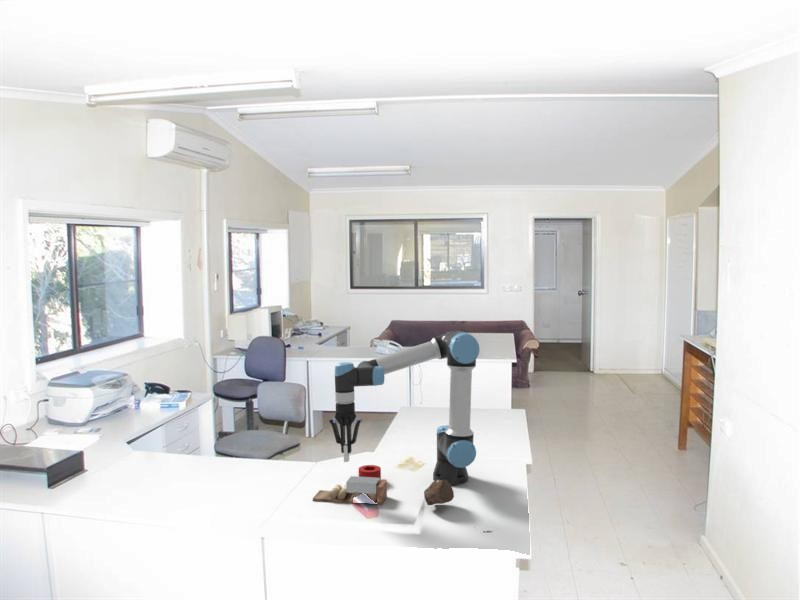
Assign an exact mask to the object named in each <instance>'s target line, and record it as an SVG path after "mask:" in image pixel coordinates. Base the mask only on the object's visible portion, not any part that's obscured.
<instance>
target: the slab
mask: <svg viewBox="0 0 800 600" xmlns="http://www.w3.org/2000/svg"><path fill="white" fill-rule="evenodd" d="M379 483H380V478H375V477H359V476H356V475H351V476H350V477H349V478H348V479H347V481H346V484H345V485H346V492H353V493H369V494H377V486H378V484H379Z"/></svg>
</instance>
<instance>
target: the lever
mask: <svg viewBox="0 0 800 600" xmlns="http://www.w3.org/2000/svg"><path fill="white" fill-rule="evenodd" d="M358 477H375V478H380V481H381V480H382V478H381V477H382V471H381V467H380V466H379V465H376V464H375V465H374V464H367V465H362V466H360V467H358Z"/></svg>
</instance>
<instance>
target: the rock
mask: <svg viewBox="0 0 800 600" xmlns="http://www.w3.org/2000/svg"><path fill="white" fill-rule="evenodd" d="M454 494H455V492H454V489H453V487H452V485H450V484H449V482H448V481H447V480H436V481H434V480H433V481H432V482H431V484H430V485H429V486H428V487H427V488H426V489H425V490H424V492H423V495H424V496H423V497H424V500H425V502H426V505H427V506H434V505H435V504H437V505H440V504H446V503H449V502H451V501H452V500H453V499H454V497H455V495H454Z"/></svg>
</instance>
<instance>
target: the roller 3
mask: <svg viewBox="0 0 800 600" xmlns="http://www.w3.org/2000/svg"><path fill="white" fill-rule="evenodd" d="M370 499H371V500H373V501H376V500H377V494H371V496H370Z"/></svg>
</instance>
